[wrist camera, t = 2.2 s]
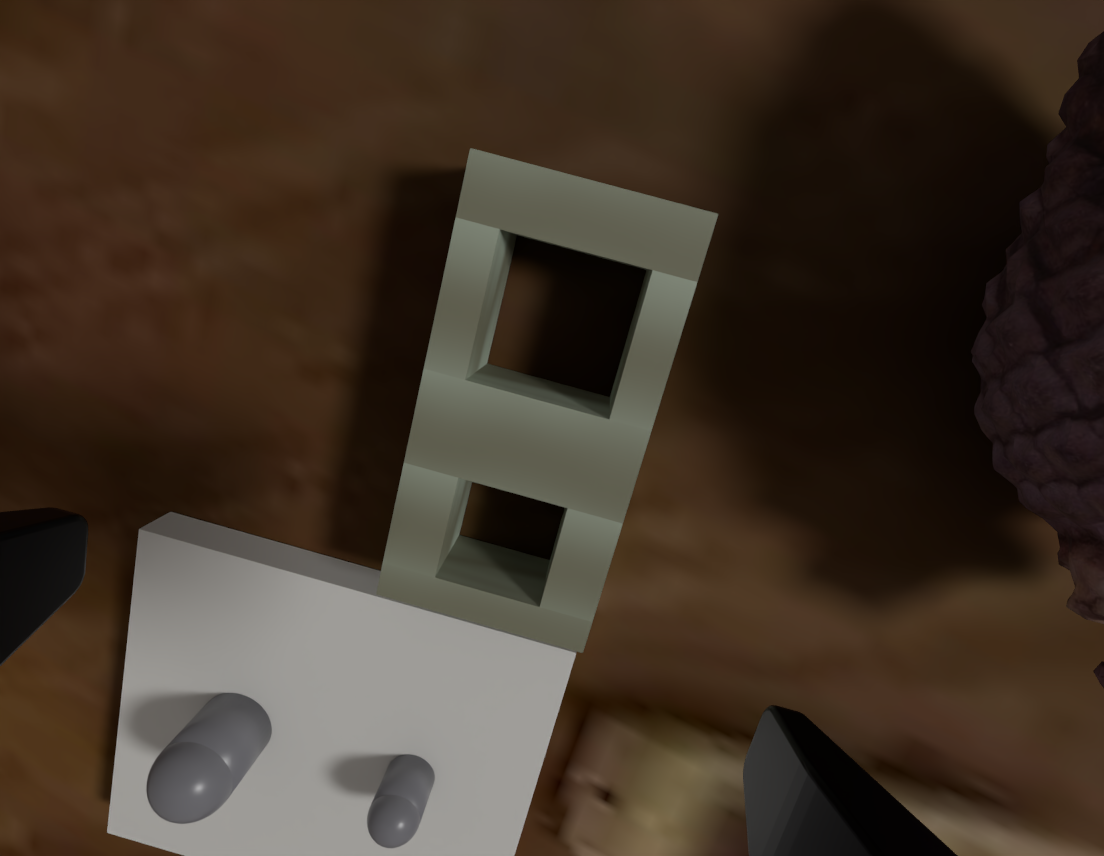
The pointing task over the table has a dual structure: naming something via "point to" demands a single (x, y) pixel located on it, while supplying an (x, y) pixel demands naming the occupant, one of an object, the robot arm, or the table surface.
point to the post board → (317, 709)
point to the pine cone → (1056, 344)
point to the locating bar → (535, 404)
